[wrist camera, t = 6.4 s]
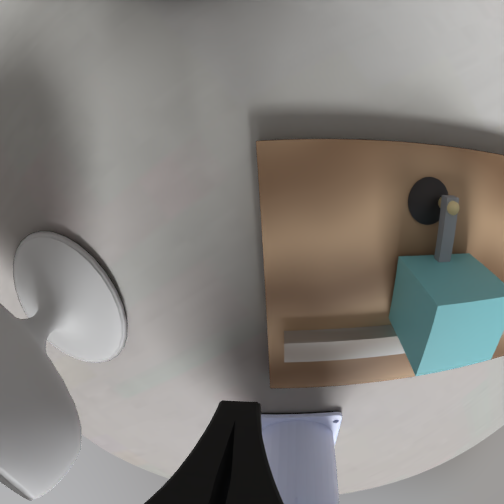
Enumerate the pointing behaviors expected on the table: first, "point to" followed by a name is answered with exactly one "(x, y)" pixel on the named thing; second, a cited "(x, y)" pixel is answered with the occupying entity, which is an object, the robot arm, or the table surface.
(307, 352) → the board
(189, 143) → the table surface
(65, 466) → the chalice
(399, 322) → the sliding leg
